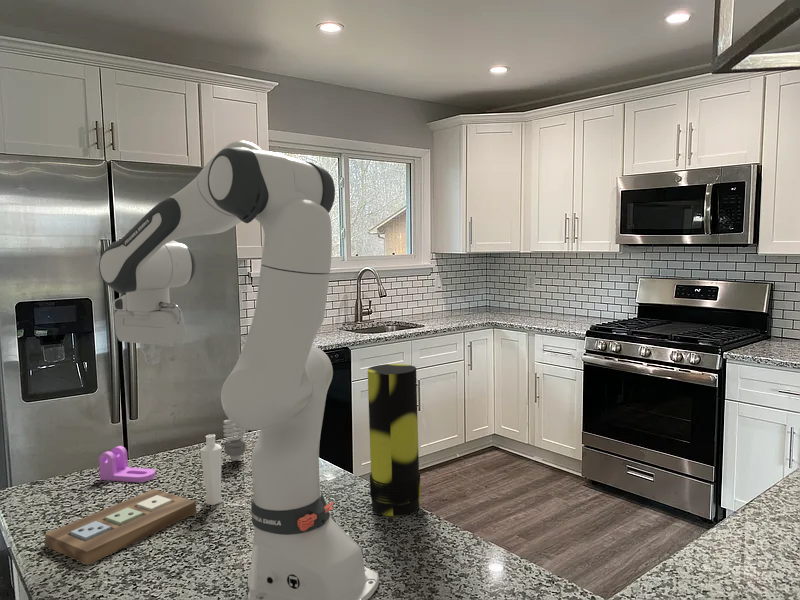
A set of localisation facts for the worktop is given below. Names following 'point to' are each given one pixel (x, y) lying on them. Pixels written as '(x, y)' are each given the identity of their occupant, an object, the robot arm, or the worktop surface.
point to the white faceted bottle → (212, 470)
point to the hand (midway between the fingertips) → (152, 363)
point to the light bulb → (234, 440)
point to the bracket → (121, 467)
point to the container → (393, 439)
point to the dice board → (119, 528)
